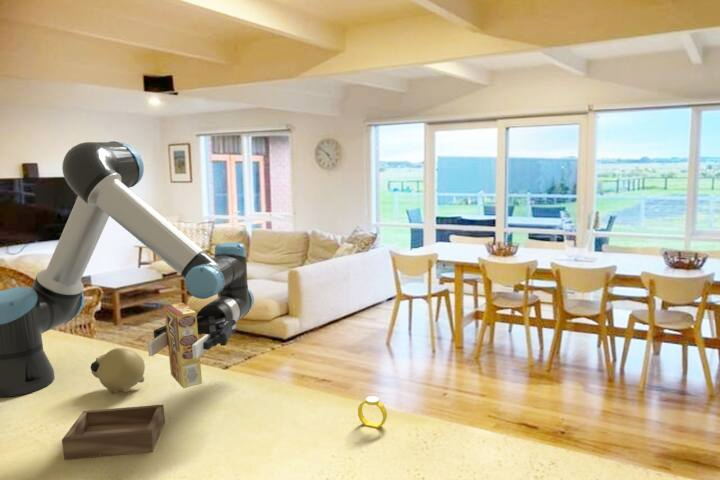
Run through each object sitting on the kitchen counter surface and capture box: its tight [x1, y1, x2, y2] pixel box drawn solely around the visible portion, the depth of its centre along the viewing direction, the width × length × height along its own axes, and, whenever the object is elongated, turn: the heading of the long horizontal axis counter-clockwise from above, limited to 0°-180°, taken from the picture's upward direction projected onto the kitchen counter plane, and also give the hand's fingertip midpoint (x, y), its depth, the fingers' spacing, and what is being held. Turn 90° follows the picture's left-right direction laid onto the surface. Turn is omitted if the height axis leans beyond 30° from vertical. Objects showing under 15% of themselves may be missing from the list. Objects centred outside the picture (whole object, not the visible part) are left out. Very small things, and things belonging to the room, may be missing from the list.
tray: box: [61, 404, 166, 461], centre depth 116 cm, size 12×16×4 cm
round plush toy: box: [90, 347, 146, 395], centre depth 139 cm, size 10×12×11 cm
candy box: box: [164, 302, 203, 389], centre depth 119 cm, size 9×4×15 cm, turn 35°
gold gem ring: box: [357, 395, 388, 429], centre depth 119 cm, size 6×3×6 cm, turn 64°
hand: (171, 350), depth 115 cm, fingers closed on candy box, 9 cm apart
